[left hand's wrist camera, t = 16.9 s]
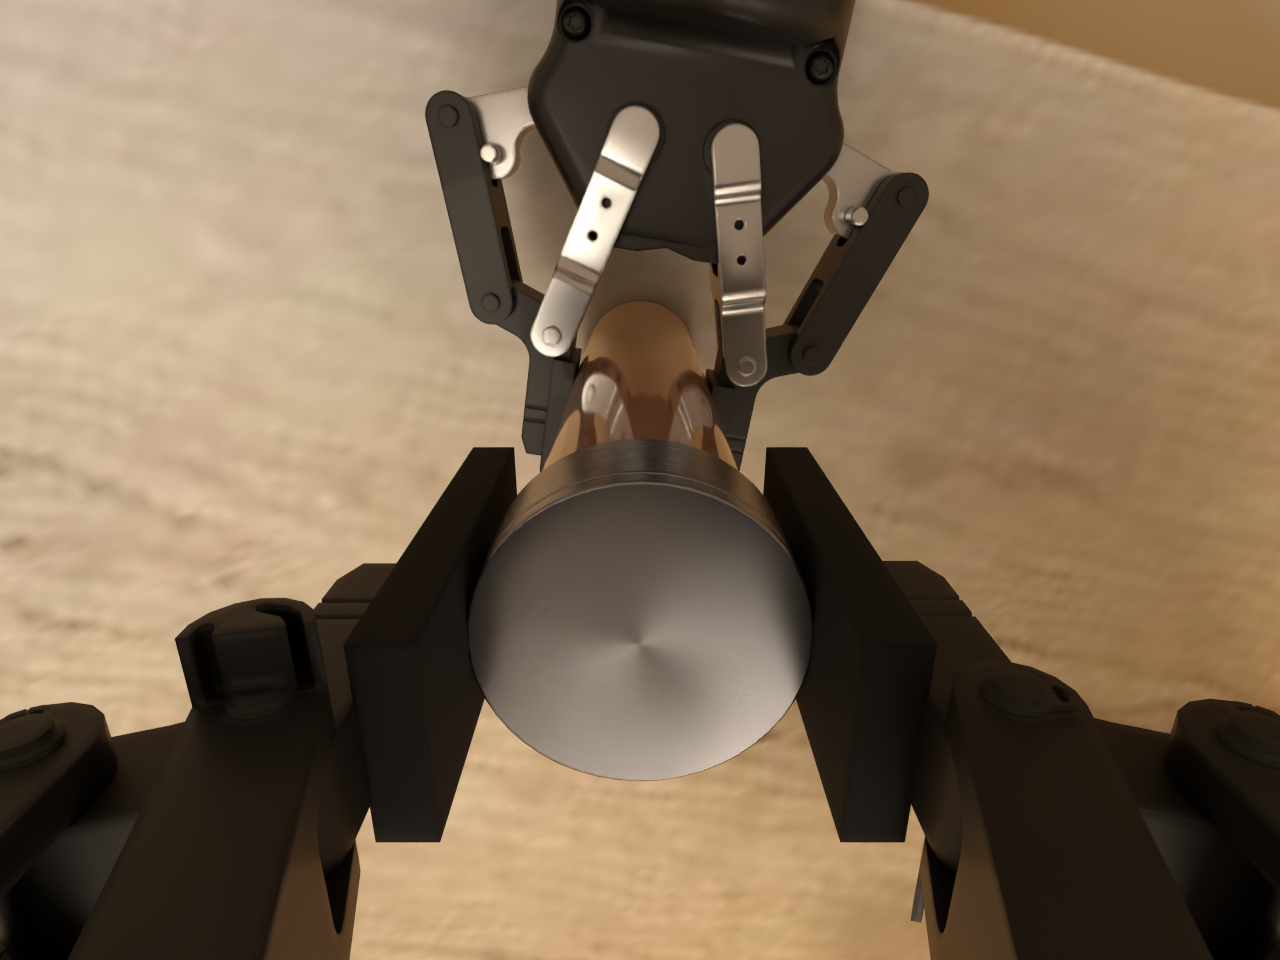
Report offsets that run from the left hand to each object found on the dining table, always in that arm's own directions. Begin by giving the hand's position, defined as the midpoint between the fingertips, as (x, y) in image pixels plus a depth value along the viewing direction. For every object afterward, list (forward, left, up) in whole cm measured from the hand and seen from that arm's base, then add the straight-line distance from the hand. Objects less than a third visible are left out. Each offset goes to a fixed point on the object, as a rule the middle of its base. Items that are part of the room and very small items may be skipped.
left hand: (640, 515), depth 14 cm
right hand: (-1, +3, -9) cm, 10 cm away
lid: (0, 0, +4) cm, 4 cm away
